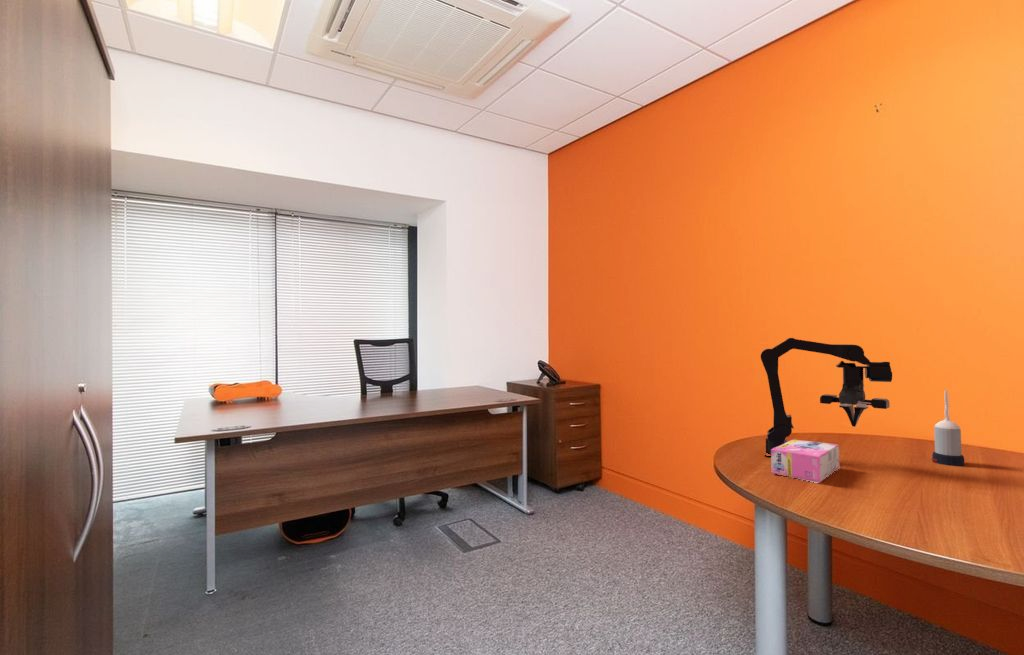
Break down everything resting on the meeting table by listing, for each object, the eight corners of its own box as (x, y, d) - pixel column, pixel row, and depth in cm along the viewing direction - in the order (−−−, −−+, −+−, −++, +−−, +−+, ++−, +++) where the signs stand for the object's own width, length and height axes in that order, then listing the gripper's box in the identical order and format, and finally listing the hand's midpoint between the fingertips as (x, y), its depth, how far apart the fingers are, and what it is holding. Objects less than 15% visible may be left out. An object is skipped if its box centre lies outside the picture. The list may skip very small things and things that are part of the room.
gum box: (841, 467, 156) (795, 459, 166) (840, 443, 156) (794, 437, 166) (820, 482, 139) (770, 473, 149) (819, 456, 140) (770, 448, 150)
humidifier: (927, 461, 164) (925, 389, 164) (939, 458, 167) (937, 388, 168) (957, 467, 157) (955, 392, 157) (969, 464, 160) (967, 391, 161)
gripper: (814, 380, 163) (815, 425, 162) (881, 384, 149) (882, 433, 148) (824, 378, 170) (825, 421, 170) (889, 382, 156) (890, 429, 156)
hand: (854, 426), depth 161 cm, fingers closed
